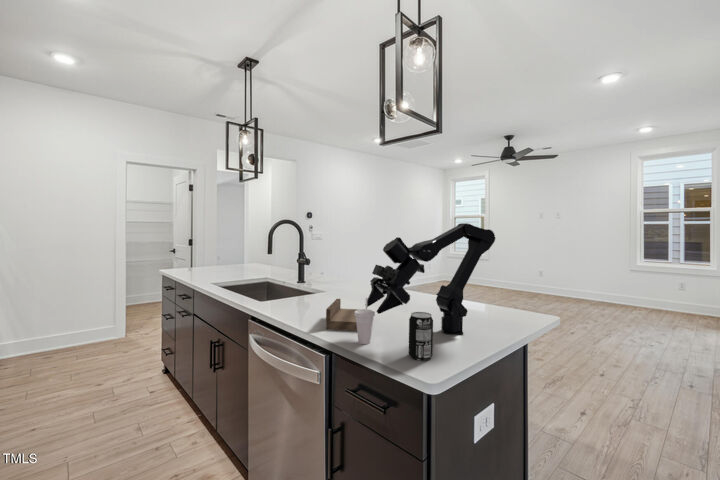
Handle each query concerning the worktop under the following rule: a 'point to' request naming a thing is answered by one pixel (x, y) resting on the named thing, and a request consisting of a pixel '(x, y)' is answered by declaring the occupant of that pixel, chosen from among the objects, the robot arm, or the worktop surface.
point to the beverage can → (420, 336)
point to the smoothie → (364, 324)
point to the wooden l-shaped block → (340, 317)
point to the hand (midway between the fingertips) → (371, 309)
